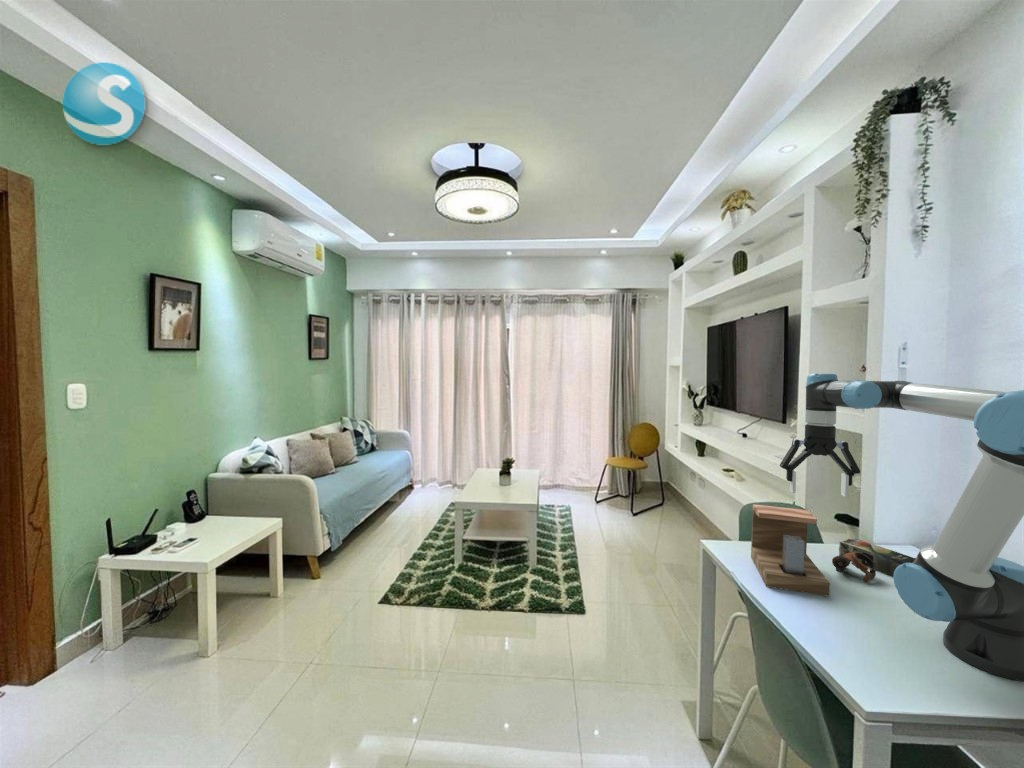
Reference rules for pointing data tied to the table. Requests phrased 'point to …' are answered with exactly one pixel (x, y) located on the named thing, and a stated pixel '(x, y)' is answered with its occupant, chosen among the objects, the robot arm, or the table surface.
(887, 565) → the juice carton
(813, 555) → the table surface
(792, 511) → the socket stand
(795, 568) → the peg
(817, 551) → the table surface
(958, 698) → the table surface
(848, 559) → the brown ring shaped figurine
